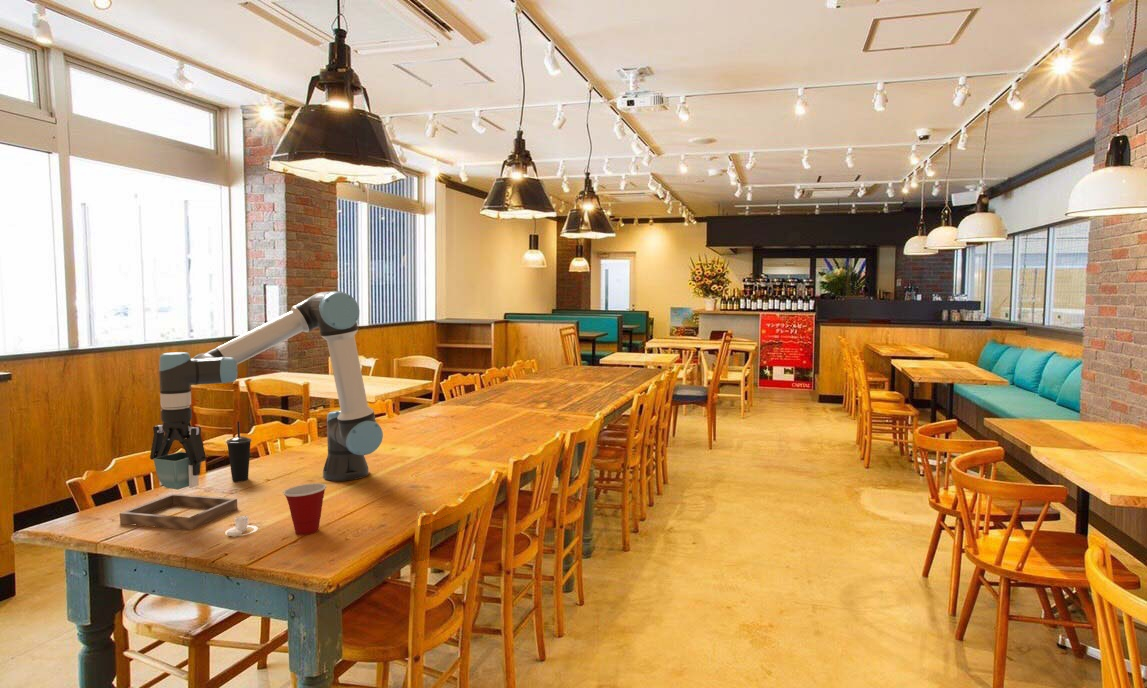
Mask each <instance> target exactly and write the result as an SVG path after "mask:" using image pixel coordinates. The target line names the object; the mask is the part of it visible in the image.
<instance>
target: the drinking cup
mask: <svg viewBox="0 0 1147 688" xmlns="http://www.w3.org/2000/svg"><path fill="white" fill-rule="evenodd" d="M240 424H241V423H240V421H237V422H236V426H237V430H236V432H237V436H234V437H232V438H230V439H228V440H226V444H227V451H228V459H229V467H230V472H231V480H232V482H236V483H238V482H240V483H241V482H245V481H248V480H249V471H250V470H249V469H250V455H251V442H252V438H250V437H247V436H241V432H240V430H241V429H240Z"/></svg>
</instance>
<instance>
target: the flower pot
mask: <svg viewBox="0 0 1147 688" xmlns="http://www.w3.org/2000/svg"><path fill="white" fill-rule="evenodd" d="M153 463H154V468H155V472H156V476H157V478H158V481H159V480H160V482H161V483H162V484H163V485H162V486H163V487H164V488H165V489H170V490H180V489H181V490H182V489H185V488H188V487H189V467H188V465H189V464H191V462H190V460H189V458H188V456H187V454H186V452H185V451H177V452H175V453H169V454H168V455H166V456H162V457H157V458H154V460H153ZM201 467H202V462H201V463H200V469H201ZM199 476H200V474H199V475H198V477H199Z"/></svg>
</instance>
